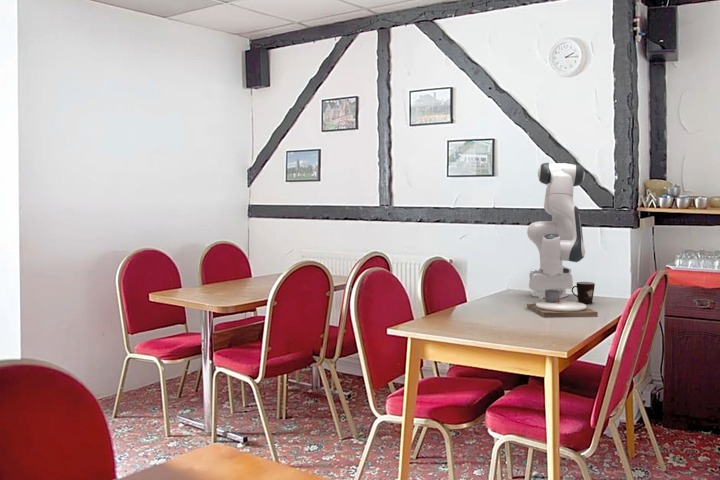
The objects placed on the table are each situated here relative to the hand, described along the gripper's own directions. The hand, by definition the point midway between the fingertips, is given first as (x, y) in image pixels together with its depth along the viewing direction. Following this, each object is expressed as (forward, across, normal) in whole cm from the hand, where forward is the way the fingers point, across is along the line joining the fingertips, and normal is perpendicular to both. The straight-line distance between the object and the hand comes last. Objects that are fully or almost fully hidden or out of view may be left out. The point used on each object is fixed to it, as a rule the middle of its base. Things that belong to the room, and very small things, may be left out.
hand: (550, 298), depth 328 cm
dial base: (+5, +1, -9) cm, 10 cm away
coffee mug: (+6, +22, +13) cm, 26 cm away
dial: (+2, +1, -8) cm, 9 cm away
